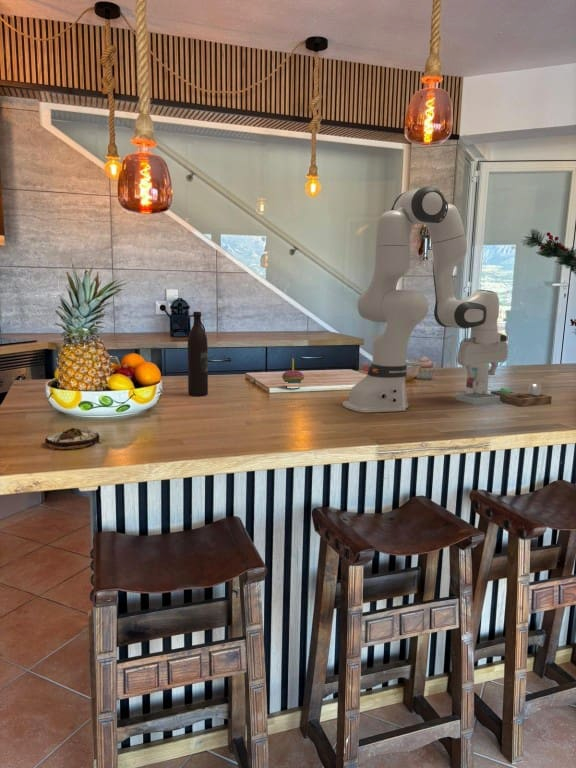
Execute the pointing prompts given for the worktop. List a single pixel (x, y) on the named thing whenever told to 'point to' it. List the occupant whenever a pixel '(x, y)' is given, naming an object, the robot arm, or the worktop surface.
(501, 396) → the console
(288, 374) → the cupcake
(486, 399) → the tray
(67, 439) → the chocolate cream tart
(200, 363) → the wine bottle
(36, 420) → the worktop surface
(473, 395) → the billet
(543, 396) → the pallet
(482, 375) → the milk bottle
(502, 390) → the button
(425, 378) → the cupcake
